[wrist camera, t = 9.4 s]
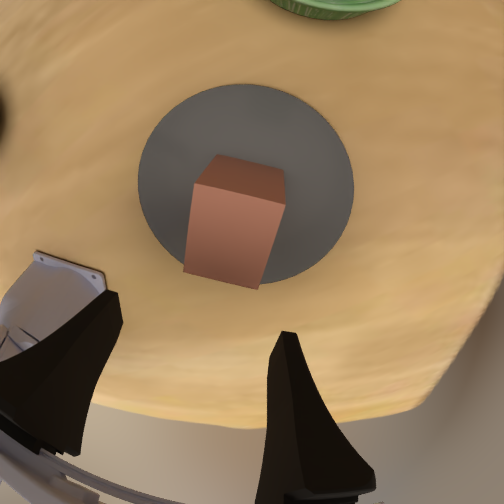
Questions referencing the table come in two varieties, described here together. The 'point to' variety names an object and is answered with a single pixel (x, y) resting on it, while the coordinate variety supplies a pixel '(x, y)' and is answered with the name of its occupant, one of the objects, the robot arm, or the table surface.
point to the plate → (258, 151)
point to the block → (234, 220)
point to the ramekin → (333, 7)
